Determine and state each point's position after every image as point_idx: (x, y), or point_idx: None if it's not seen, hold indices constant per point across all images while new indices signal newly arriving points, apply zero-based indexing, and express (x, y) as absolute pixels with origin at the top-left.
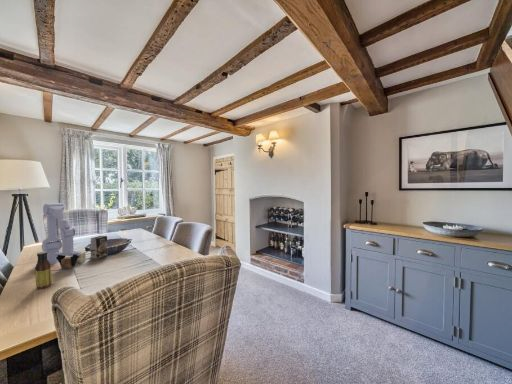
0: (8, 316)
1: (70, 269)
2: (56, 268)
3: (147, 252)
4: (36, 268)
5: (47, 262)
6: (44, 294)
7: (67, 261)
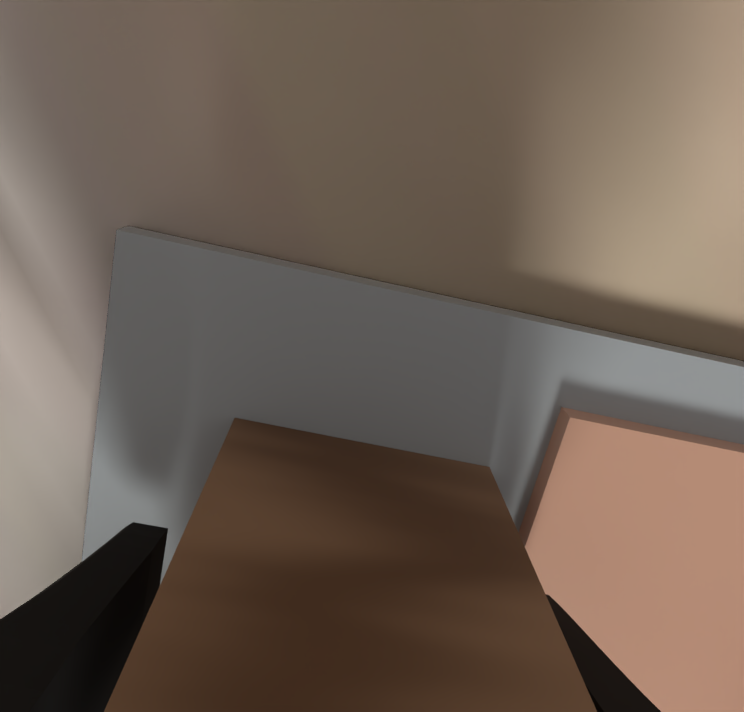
0: None
1: (213, 425)
2: (664, 583)
3: None
4: None
5: None
6: None
7: (252, 648)
